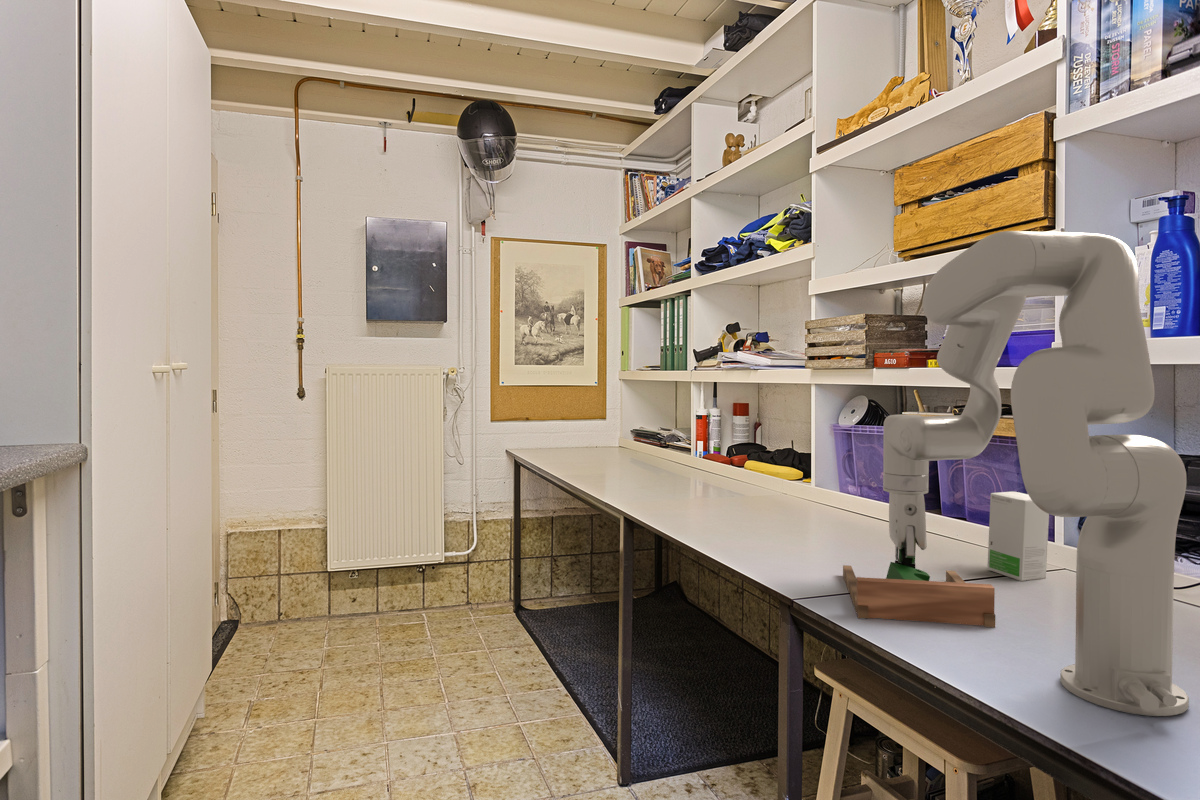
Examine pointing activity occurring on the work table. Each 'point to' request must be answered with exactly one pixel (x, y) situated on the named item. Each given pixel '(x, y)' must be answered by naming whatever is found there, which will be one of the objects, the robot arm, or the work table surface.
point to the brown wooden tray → (922, 599)
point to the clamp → (906, 573)
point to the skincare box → (1017, 537)
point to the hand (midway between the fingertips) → (904, 583)
